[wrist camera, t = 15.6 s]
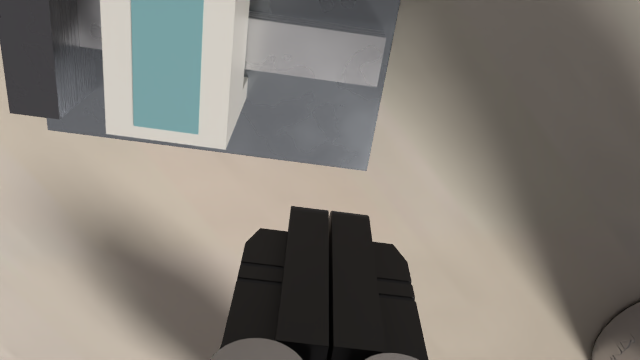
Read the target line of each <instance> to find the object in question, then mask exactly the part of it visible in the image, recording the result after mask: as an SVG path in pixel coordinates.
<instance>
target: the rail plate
mask: <svg viewBox="0 0 640 360" xmlns="http://www.w3.org/2000/svg"><path fill="white" fill-rule="evenodd" d="M399 5H400V0H250V4H249V17H248V30H247V43H246V55H245V68H244V77H248V85H247V97H246V100H245V102H244V105H243V107H242V110H241V112H240V115H239V117H238V120H237V122H236V125H235V127H234V130H233V132H232V135H231V137H230V140H229V142H228V145H227V147H226V150H224V149H216V148H209V147H201V146H194V145H186V144H179V143H171V142H163V141H156V140H148V139H141V138H133V137H126V136H118V135H111V134H106V121H105V99H104V77H103V55H102V33H101V12H100V0H0V44H1V51H2V58H3V66H4V73H5V80H6V87H7V95H8V102H9V109H10V113H14V114H21V115H29V116H37V117H44V118H47V125H48V130H52V131H60V132H68V133H76V134H83V135H91V136H99V137H107V138H115V139H122V140H130V141H138V142H146V143H153V144H161V145H169V146H177V147H184V148H192V149H200V150H208V151H215V152H223V153H231V154H239V155H247V156H254V157H262V158H270V159H278V160H285V161H293V162H301V163H309V164H316V165H324V166H332V167H340V168H347V169H355V170H363V171H367V166H368V161H369V156H370V151H371V146H372V141H373V136H374V131H375V126H376V121H377V116H378V111H379V105H380V100H381V95H382V90H383V85H384V80H385V75H386V70H387V65H388V60H389V55H390V50H391V45H392V40H393V35H394V30H395V25H396V20H397V15H398V10H399Z"/></svg>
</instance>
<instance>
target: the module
mask: <svg viewBox="0 0 640 360" xmlns="http://www.w3.org/2000/svg"><path fill="white" fill-rule="evenodd" d="M249 4H250V0H100V12H101V33H102V55H103V77H104V99H105V121H106V134H111V135H118V136H126V137H133V138H141V139H148V140H156V141H163V142H171V143H179V144H186V145H194V146H201V147H209V148H216V149H224V150H226V147H227V145H228V142H229V140H230V137H231V135H232V132H233V130H234V127H235V125H236V122H237V120H238V117H239V115H240V112H241V110H242V107H243V105H244V102H245V100H246V97H247V85H248V77H244V68H245V55H246V43H247V30H248V17H249Z"/></svg>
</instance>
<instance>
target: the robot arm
mask: <svg viewBox="0 0 640 360" xmlns="http://www.w3.org/2000/svg"><path fill="white" fill-rule="evenodd" d="M414 300H415V296H414V291H413V286H412V285H411V277H410V273H409V268H408V263H407V261H406V260H405V259H404V257H403V256H402V255H401V254H400V252H399V251H398V250H397V249H396V247H395V246H394V245H393V244H386V243H378V242H372V236H371V228H370V220H369V216H368V215H360V214H352V213H344V212H336V211H331V212H330V216H329V212H328V211H327V210H319V209H311V208H303V207H295V206H291V212H290V219H289V227H288V232H287V231H279V230H270V229H262V228H260V229H259V230H258V231H257V232H256V233H255V234H254V235H253V236H252V237H251V238H250V239H249V240H248V241H247V242H246V244H245V248H244V252H243V256H242V260H241V265H240V269H239V273H238V278H237V282H236V286H235V290H234V294H233V299H232V303H231V307H230V311H229V316H228V320H227V324H226V328H225V333H224V337H223V341H222V344H221V347H220V349H219V350H218V351H217V352H216V353H215V354H214V355H213V356H212V358H211V359H210V360H428V356H427V351H426V347H425V342H424V338H423V333H422V328H421V324H420V319H419V314H418V310H417V305H416V302H415V301H414ZM592 360H640V302H638V303H637V304H635V305H633V306H631V307H629V308H627V309H626V310H624V311H623V312H622V313H620V314H619V315H618V316H616V317H615V318H614V319H613V320H612V321H611V322H610V323H609V324H608V325H607V326H606V327H605V328H604V329H603V331H602V332H601V334H600V335H599V337H598V338H597V340H596V343H595V346H594V348H593V351H592Z"/></svg>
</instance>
